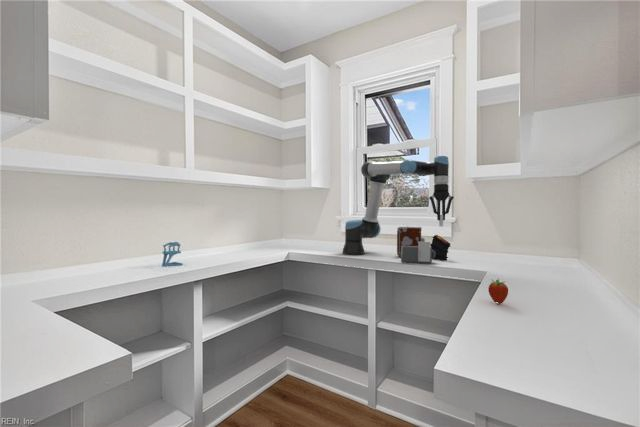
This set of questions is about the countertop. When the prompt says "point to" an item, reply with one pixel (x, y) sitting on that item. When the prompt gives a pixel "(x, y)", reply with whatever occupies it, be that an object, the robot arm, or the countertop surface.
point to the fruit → (498, 291)
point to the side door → (423, 251)
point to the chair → (171, 254)
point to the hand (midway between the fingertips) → (441, 226)
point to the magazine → (440, 248)
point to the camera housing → (413, 255)
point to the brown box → (408, 237)
